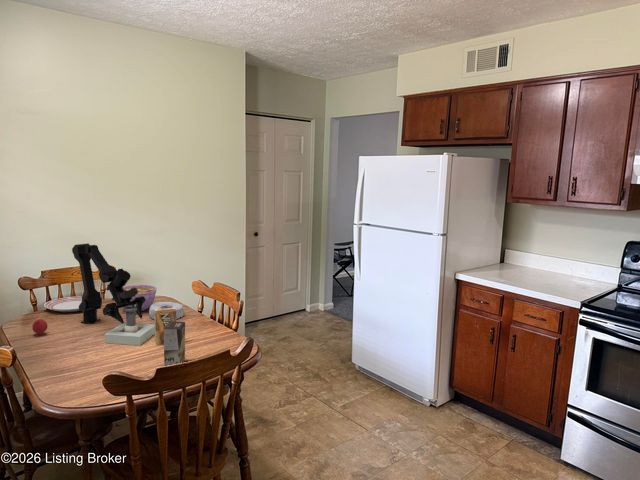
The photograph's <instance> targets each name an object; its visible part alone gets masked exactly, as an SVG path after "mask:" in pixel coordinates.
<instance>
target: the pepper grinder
mask: <svg viewBox="0 0 640 480" xmlns="http://www.w3.org/2000/svg"><path fill="white" fill-rule="evenodd" d="M136 311H137V307H126V308H124V312H125V320H126V321H125V323H126V324H125V325H124V330H125V332H129V333H136V332H137V331H138V324H139V323H137V320H136V319H137V317H136V316H137V315H136V314H137V313H136Z"/></svg>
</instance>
